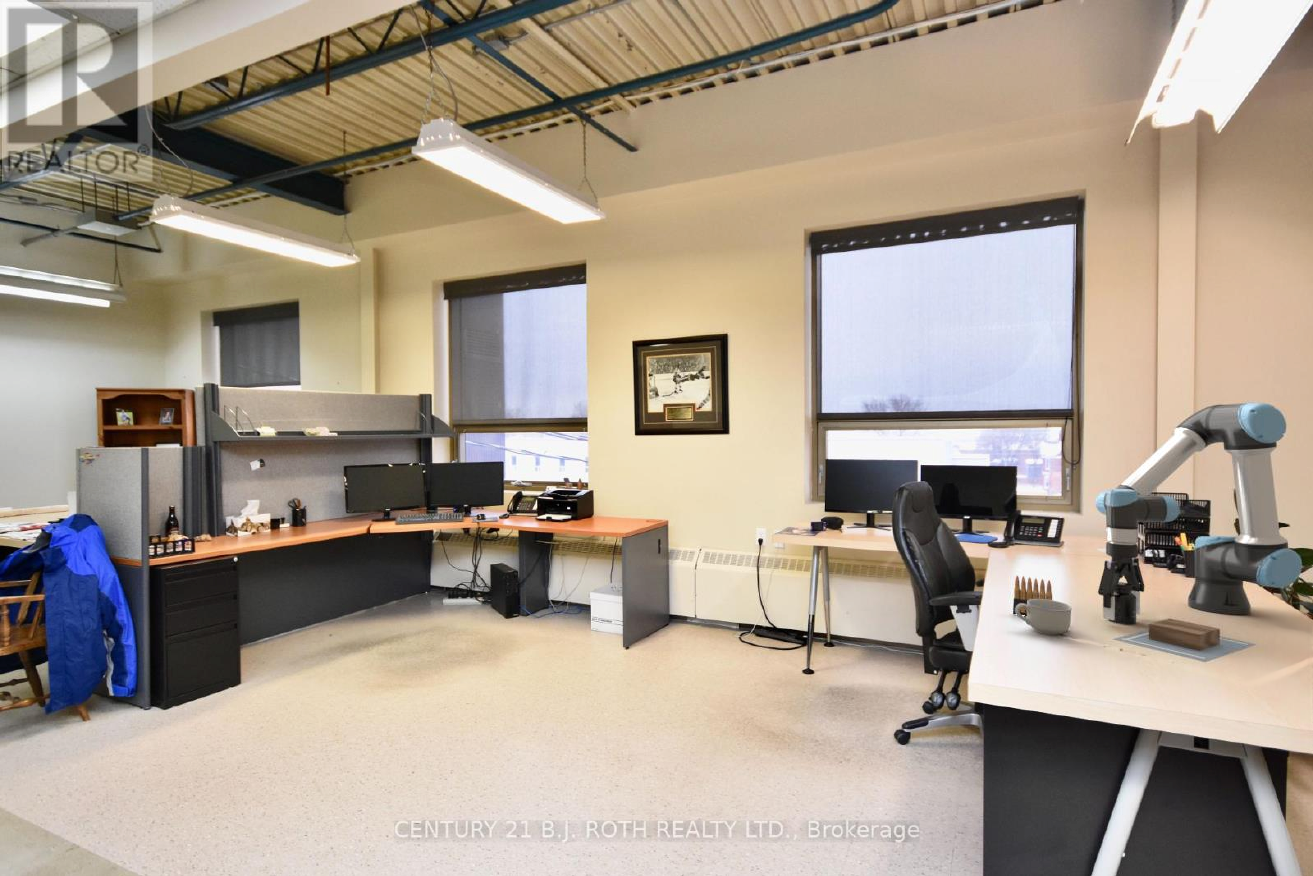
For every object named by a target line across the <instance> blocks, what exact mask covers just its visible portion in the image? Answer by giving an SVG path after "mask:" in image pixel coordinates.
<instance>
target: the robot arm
mask: <svg viewBox="0 0 1313 876" xmlns="http://www.w3.org/2000/svg"><path fill="white" fill-rule="evenodd" d="M1286 432H1287V423H1286V418H1285V416H1284V415H1283V412H1281V410H1279V408H1276V407H1275V406H1274V405H1272V404H1270V403H1265V402H1244V403H1243V402H1242V403H1231V404H1230V403H1229V404H1214V405H1211V406H1207V407H1204V408H1202V409H1201V410H1199V411H1196V412H1194V413H1192V414H1191V415H1190V416H1188V417H1187V418H1186V419H1184V420H1183V421H1182V422H1180V423H1179V425H1177V426H1176V427H1175V428H1173V430H1172V432H1171V437H1170V438H1168V439H1167V440H1165V442H1164V443H1163V444H1162V445H1161V446H1160V447H1159V448H1158V449H1156V450H1155V452H1153V453H1152V454H1151V455H1149V457H1148V458H1147V459H1146V460H1144V462H1142V463H1141V464H1140V465H1139V466H1138V467H1137V468H1136V469H1135V470H1134V471H1132V472H1131V474H1130V475H1129V476H1128V477H1126V479H1124V480H1123V481H1121V483H1120V484H1119V485H1117V487H1116V488H1111V489H1108V490H1107V491H1102V492H1099V494H1098V495H1097V497H1096V499H1095V507H1096V509H1097V510H1098V512H1099V513H1101V514H1102V515H1105V516H1106V521H1105V523H1106V524H1105V525H1106V528H1105V533H1106V538H1105V539H1106V541H1107V542H1106V543H1105V553H1106V555H1107V556H1109V557H1111V560H1104V563H1103V566H1104V567H1103V570H1102V576H1101V579H1100V583H1099V586H1098V590H1097V594H1098V595H1100V596H1102V619H1107V620H1108V619H1109V620H1115V597H1112V596H1113V594H1114V592H1115V589H1116V587H1117V585H1118V582H1120V581H1121V579H1122V578H1124V579H1125V581H1126V583H1129V584H1132V591H1131V593H1133V594H1134V595H1135V596H1136V615H1140V614H1141V604H1140V603H1141V592H1142V593H1144V591H1145V583H1144V579H1143V575H1142V571H1141V567H1140V560H1139V558H1138V557H1139V545H1138V544H1137V543H1139V523H1162V524H1163V523H1168V522H1173V521H1175V520H1176V519H1177V518H1178V516H1179V515H1180V506H1179V504H1178V502H1177V500H1176V499H1175V498H1174V497H1172V496H1167V495H1166V496H1164V495H1151V494H1152V493H1153V492H1154V491H1155V490H1156V489H1157V488H1158V487H1159V486H1161V484H1163V483H1164V482H1165V481H1166V480H1167V479H1168V478H1169V477H1170V476H1171V475H1172V474H1173V473H1175V472H1176V470H1178V469H1179V468H1180V467H1181V466H1182V465H1183V464H1185V462H1186V461H1187V460H1188V459H1190V457H1192V456H1193V455H1194V454H1196V453H1197V452H1202V451H1203V450H1204V449H1206V448H1207V447H1209V446H1210V445H1213V444H1218V443H1223V449H1224V451H1225V452H1226V453H1228V454H1230V456H1231V461H1232V470H1233V479H1234V486H1235V489H1234V490H1235V496H1236V505H1237V515H1238V521H1239V522H1238V523H1239V532H1240V534H1238V536H1233V535H1230V536H1229V535H1228V536H1225V535H1224V536H1223V535H1222V536H1220V535H1219V536H1218V535H1217V536H1215V535H1212V536H1211V535H1210V536H1209V535H1208V536H1205V535H1204V536H1199V537H1197V538H1196V539H1195V541H1194V543H1195V544H1194V547H1193V548H1194V549H1193V550H1194V583H1193V586H1192V588H1191V590H1190V593H1189V595H1188V599H1187V605H1188V606H1189V607H1191V608H1194V609H1196V610H1200V611H1205V612H1210V613H1216V614H1225V615H1238V614H1239V616H1240V615H1241V616H1242V615H1250V614H1251V613H1252V609H1251V608H1252V607H1251V603H1250V601H1249V598H1248V595H1247V593H1246V590H1245V588H1244V582H1245V583H1251V584H1255V585H1259V586H1263V587H1267V588H1269V587H1271V588H1276V589H1277V588H1278V589H1280V588H1281V589H1282V588H1285V587H1288V586H1290V585H1292V584H1293V583H1295V581H1296V580H1297V579H1298V578H1299V576H1300V575H1301V572H1302V567H1303V563H1302V558H1301V556H1300V555H1299V554H1298V553H1297V552H1296V551H1295V550H1293V549H1292V548H1291V549H1290V548H1289V543H1288V539H1287V538H1285V537H1284V536H1283V535H1281V534H1280V527H1279V516H1278V507H1277V499H1276V491H1275V489H1276V488H1275V484H1274V483H1275V482H1274V474H1273V463H1272V456H1271V455H1272V452H1273V451H1275V450H1276V449H1277V447H1278V444H1277V442H1279V441H1281V440H1282V438H1283V437H1284V434H1286Z"/></svg>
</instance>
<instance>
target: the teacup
mask: <svg viewBox="0 0 1313 876" xmlns="http://www.w3.org/2000/svg"><path fill="white" fill-rule="evenodd" d="M1022 607H1024V608H1026V610H1027V617H1023V616H1022V615H1021V614H1020V609H1021V608H1022ZM1072 610H1073V608H1072V606H1071V605H1069V604H1067V603H1065V602H1061V601H1057V600H1054V599H1052V600H1046V599H1030V600H1028V601H1027V605H1026V604H1023V603H1021V604H1018V605H1017V606H1016V608H1015V612H1016V614H1017V615H1016V616H1017V617H1018V618H1019V619H1020V620H1022V621H1024V622H1025V624H1026V625H1029V626H1030V627H1031V628H1032V629H1033V630H1034V631H1035V632H1037V633H1040V634H1043V635H1047V636H1049V635H1050V636H1059V635H1062V634H1063V633H1066V632H1067V631H1068V630H1069V629H1070V627H1071V619H1072Z"/></svg>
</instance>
